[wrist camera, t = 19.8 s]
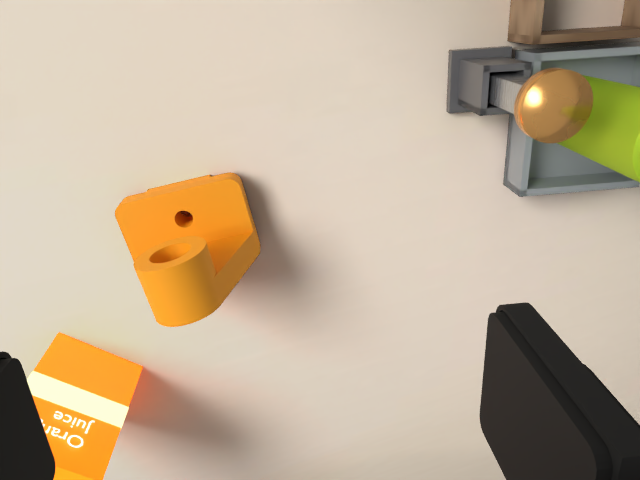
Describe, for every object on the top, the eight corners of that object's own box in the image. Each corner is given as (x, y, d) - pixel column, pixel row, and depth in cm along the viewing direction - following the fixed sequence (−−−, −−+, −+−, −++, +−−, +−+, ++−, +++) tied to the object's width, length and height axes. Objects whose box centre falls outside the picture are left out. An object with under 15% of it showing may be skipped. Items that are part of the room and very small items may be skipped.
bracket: (239, 167, 46) (228, 217, 35) (260, 240, 49) (257, 308, 38) (119, 195, 46) (72, 254, 35) (148, 267, 49) (113, 341, 38)
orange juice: (113, 418, 56) (36, 619, 37) (30, 387, 53) (-97, 585, 35) (144, 365, 53) (78, 551, 35) (58, 330, 51) (-61, 510, 33)
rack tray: (515, 50, 44) (534, 53, 41) (639, 41, 44) (667, 44, 41) (503, 184, 48) (519, 196, 45) (615, 175, 49) (638, 186, 46)
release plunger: (457, 54, 42) (526, 72, 31) (510, 51, 43) (598, 67, 31) (454, 110, 44) (518, 145, 33) (505, 106, 44) (587, 140, 33)
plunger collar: (448, 50, 43) (474, 56, 38) (508, 46, 44) (542, 51, 38) (446, 111, 45) (470, 125, 40) (503, 107, 46) (534, 120, 40)
